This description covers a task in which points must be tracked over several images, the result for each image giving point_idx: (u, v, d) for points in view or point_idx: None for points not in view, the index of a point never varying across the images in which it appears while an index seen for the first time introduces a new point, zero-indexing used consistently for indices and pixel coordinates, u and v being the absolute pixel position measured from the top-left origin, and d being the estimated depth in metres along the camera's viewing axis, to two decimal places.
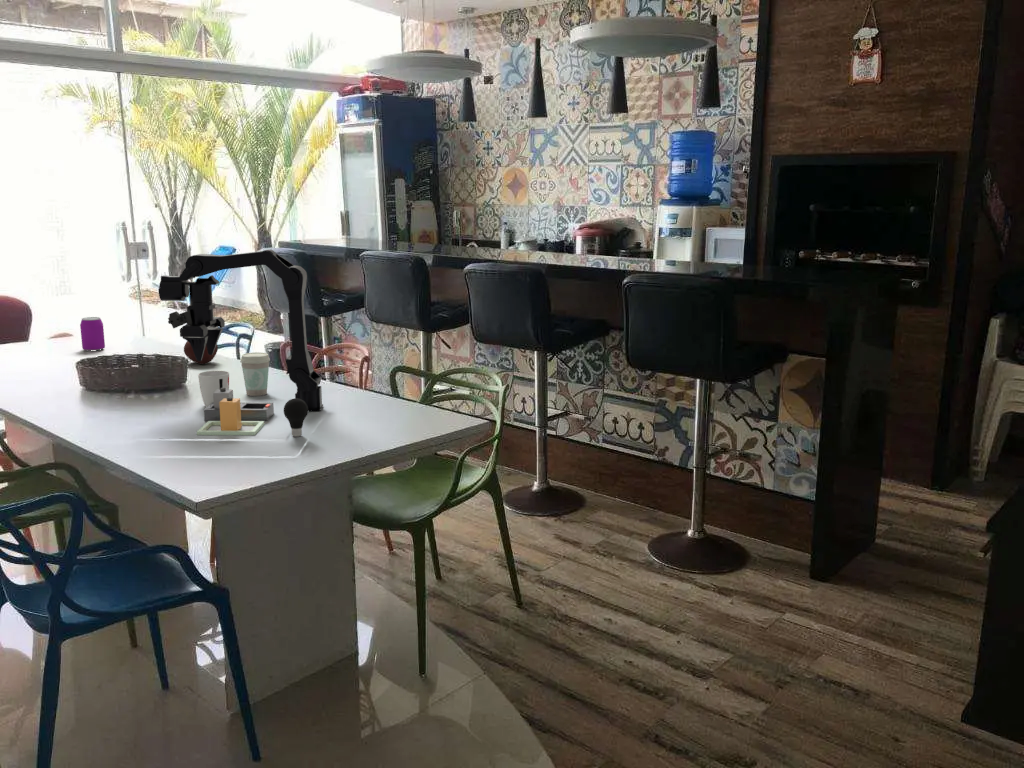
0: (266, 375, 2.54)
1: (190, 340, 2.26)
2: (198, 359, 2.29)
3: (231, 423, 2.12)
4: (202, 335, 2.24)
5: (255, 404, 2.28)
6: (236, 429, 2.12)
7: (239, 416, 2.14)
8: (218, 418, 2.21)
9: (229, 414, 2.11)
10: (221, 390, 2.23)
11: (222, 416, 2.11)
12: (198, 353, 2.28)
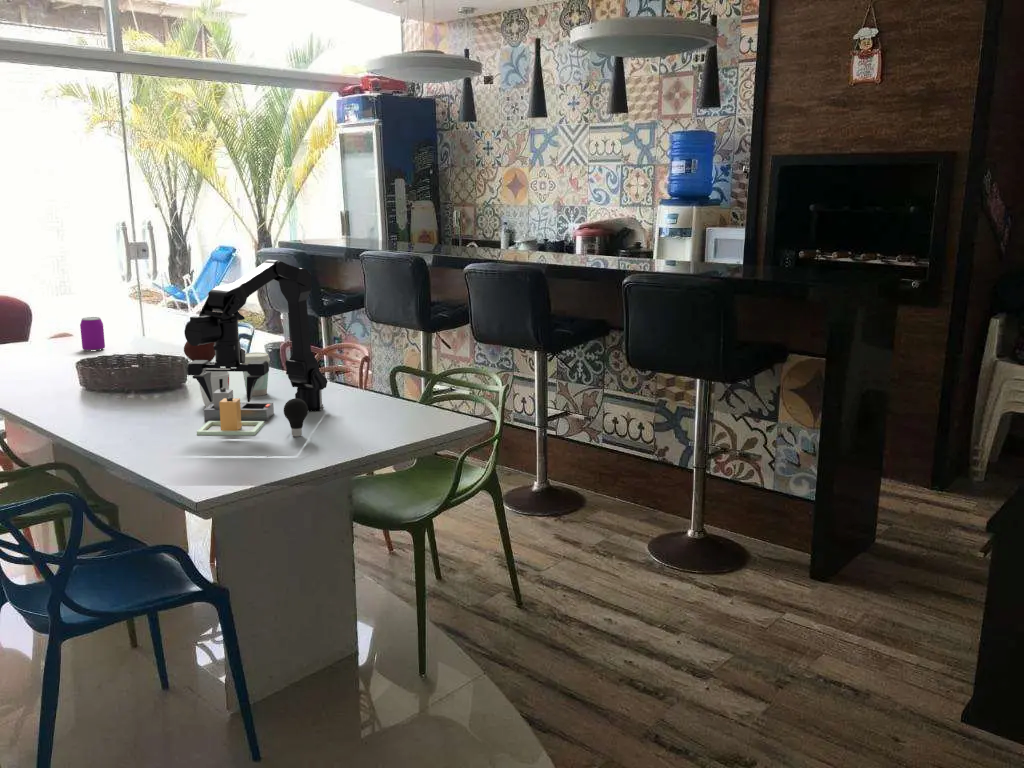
0: (266, 375, 2.54)
1: None
2: None
3: (231, 423, 2.12)
4: (187, 373, 2.07)
5: (255, 404, 2.28)
6: (236, 429, 2.12)
7: (239, 416, 2.14)
8: (218, 418, 2.21)
9: (229, 414, 2.11)
10: (221, 390, 2.23)
11: (222, 416, 2.11)
12: None
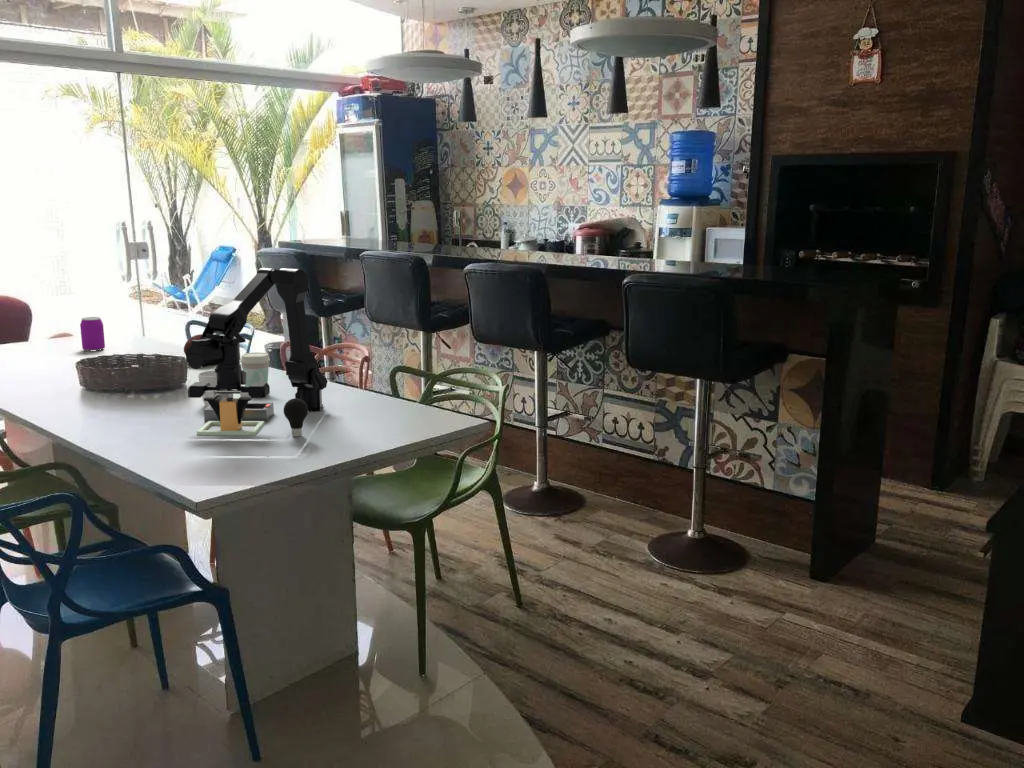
0: (266, 375, 2.54)
1: None
2: None
3: (231, 423, 2.12)
4: (189, 395, 2.09)
5: (255, 404, 2.28)
6: (236, 429, 2.12)
7: None
8: None
9: (229, 414, 2.11)
10: None
11: (222, 416, 2.11)
12: None
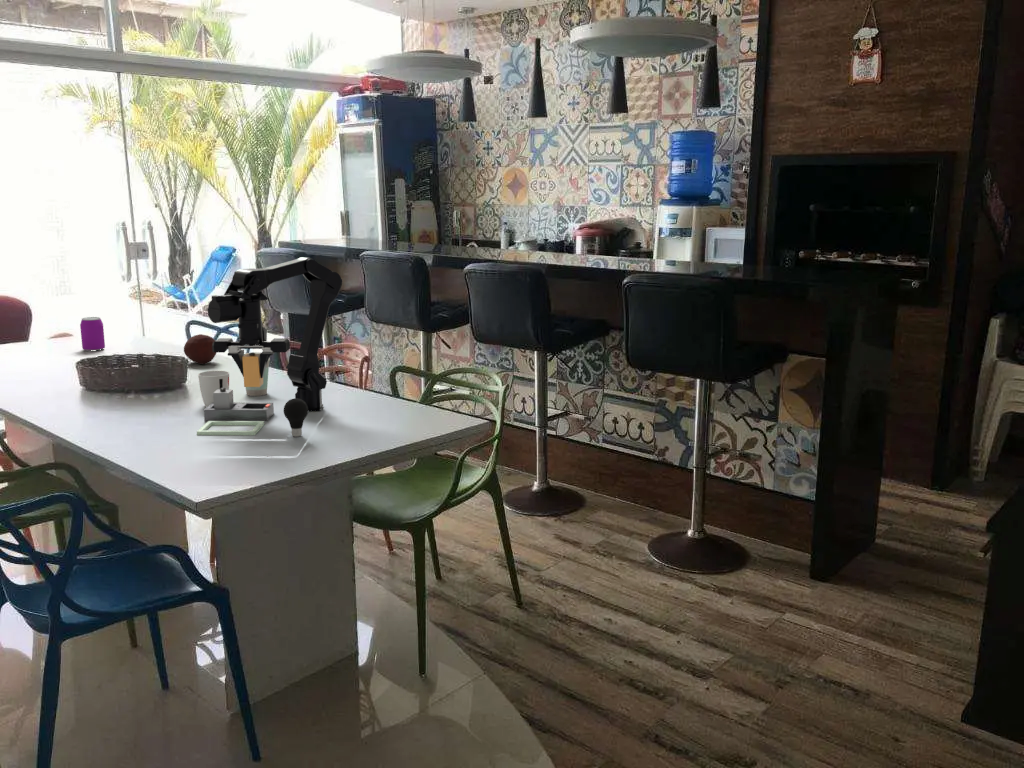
0: (266, 375, 2.54)
1: None
2: None
3: (253, 376, 2.21)
4: (213, 350, 2.18)
5: (255, 404, 2.28)
6: (258, 383, 2.22)
7: None
8: (218, 418, 2.21)
9: (252, 368, 2.21)
10: (221, 390, 2.23)
11: (245, 370, 2.21)
12: None
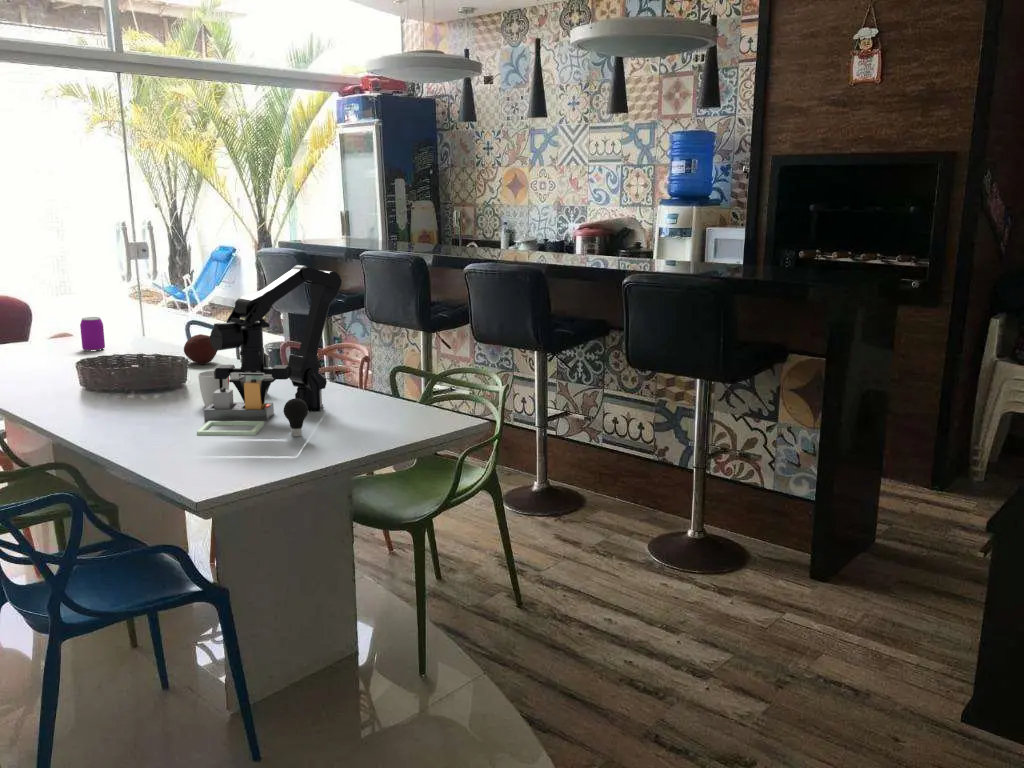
0: None
1: None
2: None
3: (255, 403, 2.23)
4: (215, 377, 2.20)
5: None
6: None
7: None
8: (218, 418, 2.21)
9: (253, 395, 2.22)
10: (221, 390, 2.23)
11: (246, 397, 2.22)
12: None
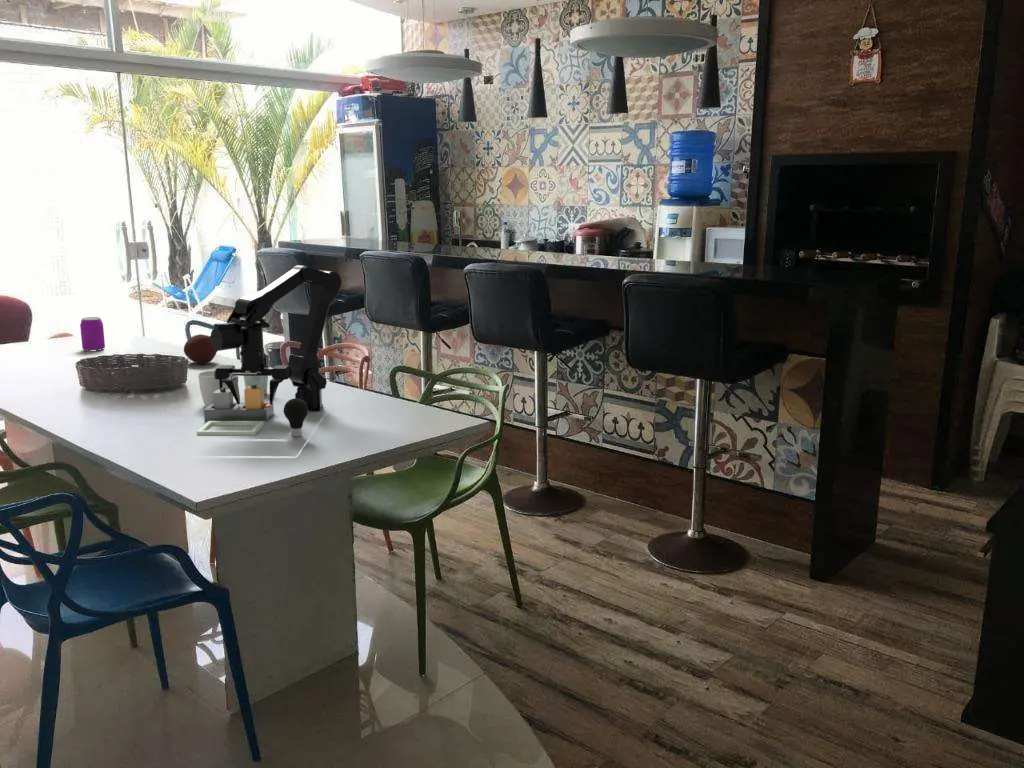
0: None
1: None
2: None
3: None
4: (215, 377, 2.20)
5: None
6: None
7: (262, 403, 2.26)
8: (218, 418, 2.21)
9: (253, 401, 2.23)
10: (221, 390, 2.23)
11: (247, 403, 2.23)
12: None
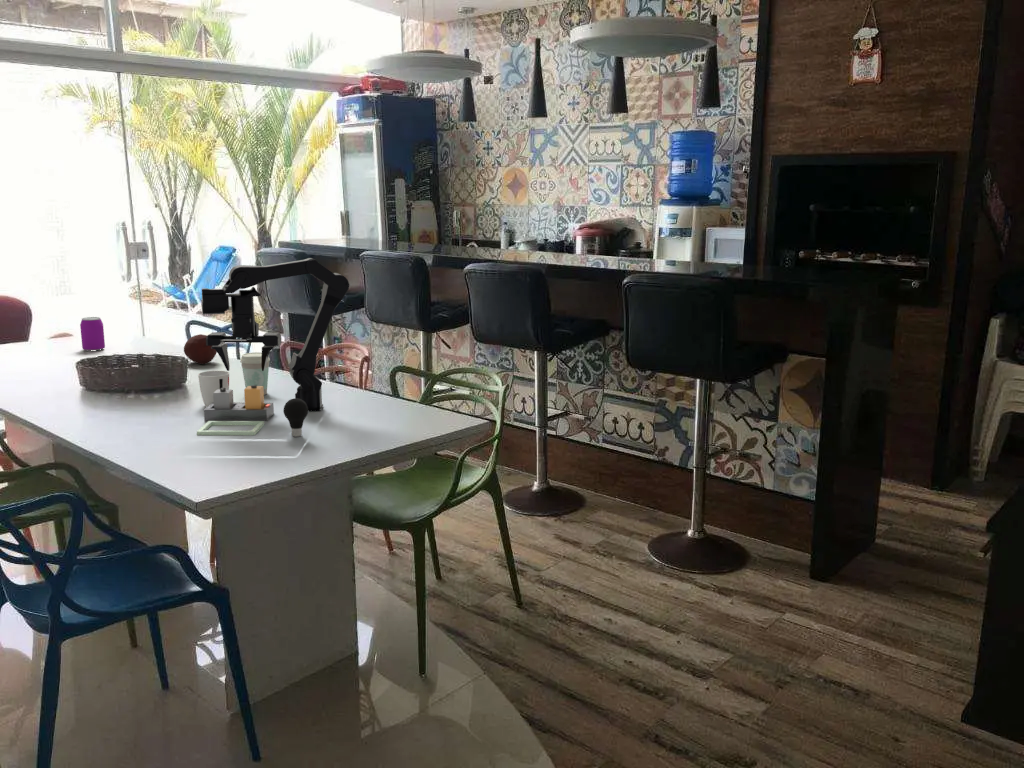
0: (266, 375, 2.54)
1: None
2: None
3: None
4: (207, 344, 2.25)
5: None
6: None
7: (262, 403, 2.26)
8: (218, 418, 2.21)
9: (253, 401, 2.23)
10: (221, 390, 2.23)
11: (247, 403, 2.23)
12: None
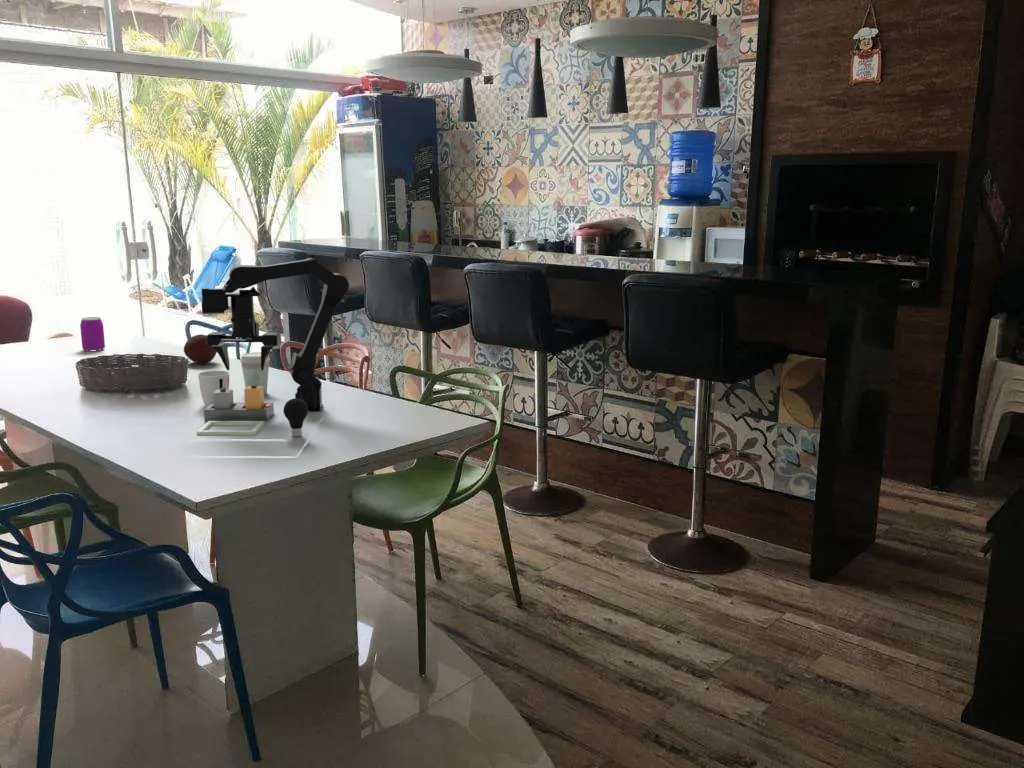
0: (266, 375, 2.54)
1: None
2: None
3: None
4: (207, 343, 2.26)
5: None
6: None
7: (262, 403, 2.26)
8: (218, 418, 2.21)
9: (253, 401, 2.23)
10: (221, 390, 2.23)
11: (247, 403, 2.23)
12: None
